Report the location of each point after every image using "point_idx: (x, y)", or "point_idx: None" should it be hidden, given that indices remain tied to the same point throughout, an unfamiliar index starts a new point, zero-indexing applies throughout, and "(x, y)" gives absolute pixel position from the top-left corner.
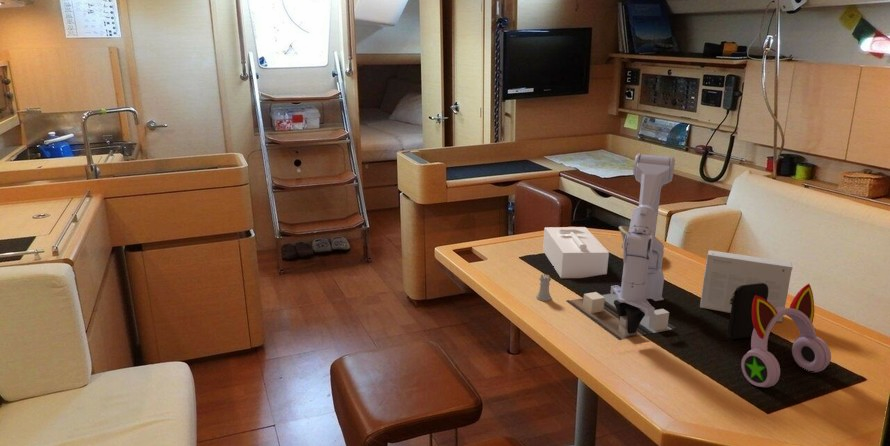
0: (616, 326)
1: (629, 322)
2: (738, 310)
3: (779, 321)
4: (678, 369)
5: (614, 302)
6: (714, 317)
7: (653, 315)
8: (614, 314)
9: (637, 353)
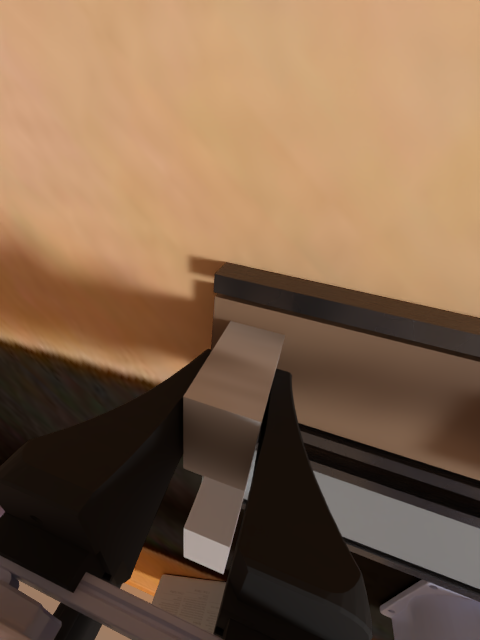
0: (344, 384)
1: (158, 392)
2: (59, 607)
3: (164, 575)
4: (5, 298)
5: (332, 595)
6: (229, 562)
7: (209, 521)
8: (446, 478)
9: (123, 267)
